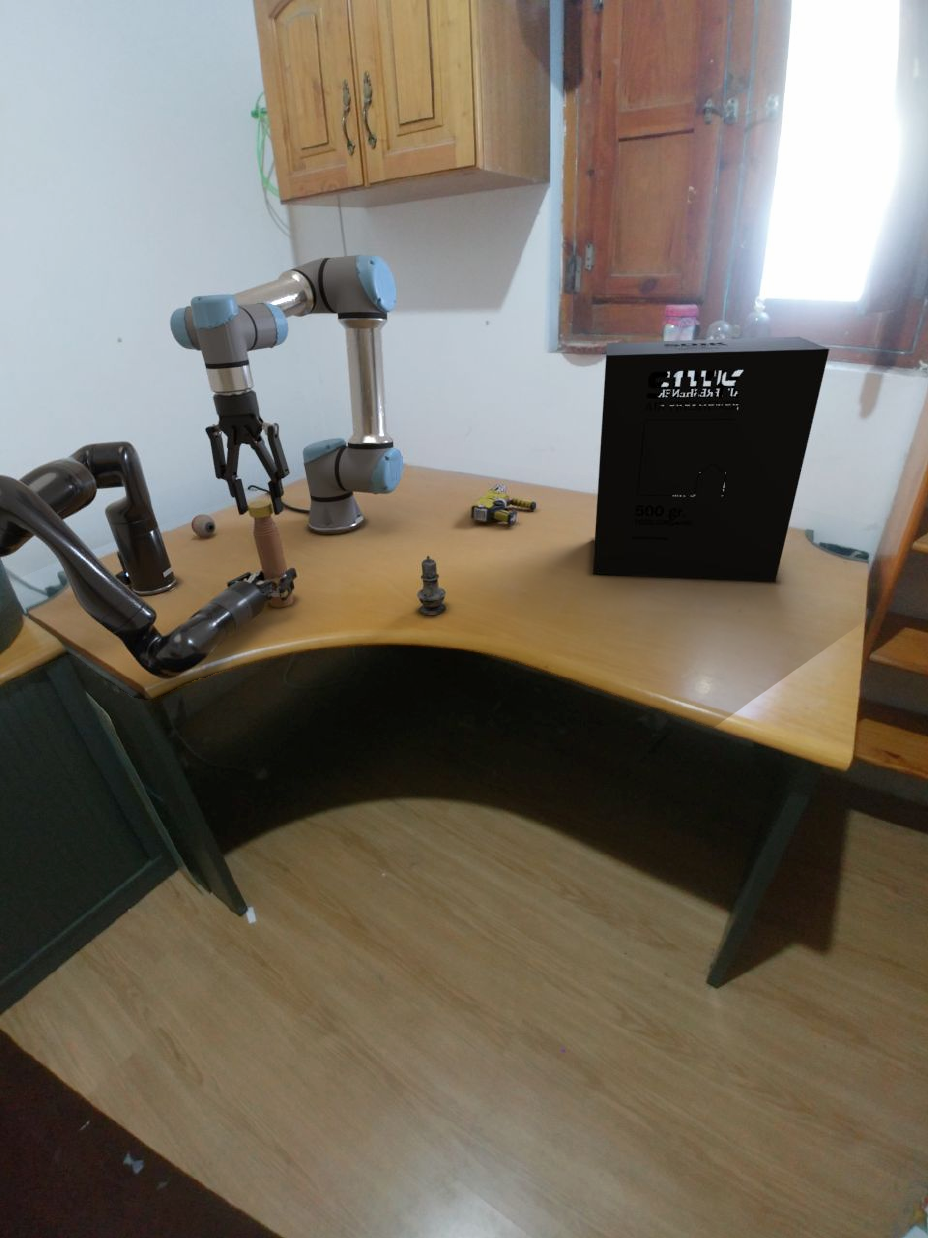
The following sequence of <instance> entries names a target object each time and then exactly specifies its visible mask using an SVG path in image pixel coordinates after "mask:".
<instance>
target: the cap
mask: <svg viewBox="0 0 928 1238" xmlns="http://www.w3.org/2000/svg"><path fill="white" fill-rule="evenodd" d="M247 505H248V514H249V517H250V518H253V519H254V518H262V517H267V516H269V515H271V516H272V515H273V514H274V510H273V505H272V500H271V501H270V500H267V499H262V500H256V501H252V502H249V504H247Z"/></svg>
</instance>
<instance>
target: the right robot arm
mask: <svg viewBox="0 0 928 1238" xmlns="http://www.w3.org/2000/svg"><path fill="white" fill-rule="evenodd" d="M395 282H396V281H395V279H394V275H393V272H392V270H391V269H390V267H389V265H388V264H387V262H386V261H385V260H384V259H383V258H382V257H380V256H379V255H376V254H355V255H354V254H353V255H343V256H335V257H334V256H333V257H322V258H317V259H314V260H312V261H309V262H306V263H303V264H301V265H298V266H296V267H292V269H288V270H285V271H283V272H282V273H281V274H279V276H278V278H277V279H274V280H273V281H269V282H266V283H263V284H259V285H257V286H254V287H250V288H248V289H245V290H242V291H239V292H235V293H233V294H231V293H226V294H224V293H223V294H221V293H220V294H209V295H208V294H207V295H197V296H195V295H194V296H193V297H192V298H191V300H190V305H186V306H185V307H178V308H176V309H175V310H174V311H173V312H172V314H171V316H170V321H169V327H170V331H171V333H172V336H173V338H174V340H175V341H176V343H177V344H178V345H179V346H180V347H182V348H184V349H186V350H195V351H198V352H201V355H202V359H203V362H204V366H205V371H206V376H207V380H208V384H209V388H210V391H211V392H212V393H215V394H213V396H212V400H213V404H214V408H215V412H216V415H217V416H218V422H217V424H216V423H215V424H214V423H213V424H211V425H209V426H207V427H205V429H204V430H205V433H206V435H207V437H208V440H209V443H210V449H211V456H212V462H213V469H214V474H215V478H216V479H217V480H224V481H225V482H226V483H227V487H228V490H229V494H230V496H231V498H234V500H235V504H236V507H237V512H238V515H239V516H244V515H245V514H246V513H247V512H249V510H248V505H249V504H248V501H247V497H246V492H245V488H244V485H243V481H242V478H239V475H238V469H239V458H240V449H241V445H242V444H243V445H246V446H247V445H249V447H250V448H251V449H252V450H253V451H254V453H255V454H256V456H257V458H258V460H259V461H260V463H261V465H262V467H263V469H264V470H265V472H266V474H267V475H268V477H269V479H270V480H269V481H268V482H267V486H268V489H267V488H262V487H260V486H258V485H255V484H251V485H249V486H248V487H247V490H250V489H251V488H254V489H257V490H258V491H260V492H261V491H262V492H264V493H267V494H269V495H270V500H271V503H272V506H273V511H274V512H273V514H274V516H279V515H280V514H281V513H282V512H284V510H285V509H284V508H286V509H288V510H290V511H291V510H292V511H295V512H300V513H308V521H307V524H308V528H309V529H308V530H310V531H311V532H312V533H314V534H317V535H323V536H324V535H325V536H327V535H329V536H331V535H339V534H340V535H341V534H345V533H350V532H353V531H355V530H357V529H359V528H361V527H362V526H363V525H364V523H365V519H364V514H363V512H362V510H361V508H360V505H359V504H358V501H357V500H356V498H355V495H354V493H363V494H365V493H366V494H372V495H388V494H391V493H392V492H394V491H395V490H396V489H397V487H398V486H399V484H400V482H401V479H402V476H403V472H404V457H403V455H402V452H401V451H400V449H398V448H396V447H394V446H395V445H394V439H393V437H392V436H390V435H389V433H388V428H387V425H388V424H387V407H386V389H385V371H384V369H385V367H384V350H383V349H384V348H383V334H382V333H383V332H382V331H383V328H384V326H386V324H387V323H388V313H390V312H392V311H393V310H394V308H395V307H396V303H397V302H396V301H397V287H396V283H395ZM312 314H313V315H315V314H318V315H319V314H332V315H333V314H335V315H337V321H338V323H339V324H340V325H341V326H342V327H343V328H344V331H345V344H346V345H345V347H346V358H347V371H348V386H349V399H350V412H351V426H352V434H351V436H349V438H348V439H347V441H346V439H345V438H342V437H335V438H328V439H323V440H320V441H316V442H313V443H309V444H308V445H306V446H305V447H304V448H303V450H302V457H303V459H302V460H303V467H304V472H305V477H306V481H307V486H308V492H309V498H310V507H309V509H302V508H297V507H293V506H291V505H288V504H286V503H285V502H283V501H282V497H283V496H284V494H285V491H284V490H285V489H284V485H283V481H282V480H283V479H285V478H286V477H287V476H289V475H290V474H291V473H290V472H291V471H290V468H289V466H288V461H287V459H286V455H285V452H284V449H283V445H282V441H281V439H280V425H279V423H277V422H273V423H270V422H264V419H263V418H262V417H261V415H260V414H261V413H260V405H259V401H258V396H257V392H256V391H255V390H253V388H254V387H255V383H254V378H253V374H252V369H251V364H250V359H249V354H248V352H251V351H256V350H257V351H259V350H263V349H273V348H274V347H276V346H280V345H282V344H283V343H285V341H286V340H287V338H288V335H289V323H288V320H287V319H288V318H290V317H292V316H294V317H297V318H301V317H305V316H307V315H312ZM263 431H264V435H265V436H266V437H267V442H268V446H269V449H270V452H271V453H270V452H269V450H268V448H267V445H266V444H265V440H264V438H263V436H262V432H263ZM223 434H224V436H226V437H227V439H226V448H227V451H226V452H227V453H225V448H224V446H225V445H224V441H223V436H222V435H223Z"/></svg>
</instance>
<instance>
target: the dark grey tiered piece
mask: <svg viewBox="0 0 928 1238" xmlns="http://www.w3.org/2000/svg"><path fill="white" fill-rule="evenodd" d="M437 570H438V569H437V562H436V560H434V559H432V558H431V557H430V555H427V556H426V559H424V560H423V561H422V562H421V572H422V573H421V576H420V579H421V580H422V588H421V589H419V590H418V592H417V594H416V597H417V598H418V600H419V602H420V604H421V606H420V607H419V612H420V613H421V614H423V615H427V616H436V615H440V614H442V613H443V612H445V611H446V605H445V604H444V603H443V602H444V600H445V596H446V595H447V591H446V590H445V589H444V588H442V587H439V578H440V575H439V573H438V571H437Z"/></svg>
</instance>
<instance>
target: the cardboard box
mask: <svg viewBox="0 0 928 1238" xmlns="http://www.w3.org/2000/svg"><path fill="white" fill-rule="evenodd" d="M605 351H606V352H605V367H604V369H605V370H604V383H603V384H604V385H603V399H602V400H603V401H602V415H601V431H600V433H601V434H600V448H599V465H598V481H597V497H596V511H595V512H596V514H595V529H594V531H595V532H594V547H593V548H594V550H593V566H592V575H608V576H628V577H629V576H631V577H654V578H655V577H656V578H675V579H676V578H677V579H678V578H679V579H701V580H702V579H703V580H724V581H725V580H726V581H747V582H770V583H776V582H777V577H778V573H779V568H780V565H781V560H782V556H783V552H784V547H785V543H786V538H787V534H788V531H789V530H788V529H789V525H790V521H791V518H792V517H791V516H792V514H793V513H792V512H793V508H794V504H795V500H796V496H797V491H798V488H799V482H800V477H801V474H802V470H803V465H804V460H805V456H806V453H807V448H808V444H809V440H810V435H811V431H812V427H813V422H814V418H815V414H816V409H817V405H818V400H819V397H820V391H821V387H822V383H823V380H824V379H823V378H824V375H825V370H826V366H827V363H828V362H827V361H828V358H829V353H830V348H828V347H826V346H824V345H820V344H819V343H815V342H813V341H811V340H808V339H805V338H803V337H800V336H780V337H778V336H775V337H749V338H748V337H747V338H745V337H744V338H721V339H720V338H717V339H716V338H715V339H689V340H688V339H687V340H684V339H683V340H657V341H655V340H654V341H628V342H627V341H626V342H624V341H623V342H607V343H606V349H605ZM720 371H721V372H720ZM737 371H742V372H740V374H739V375H734V374H735V373H736V372H737ZM678 372H682V376H681V377H680V382H679V385H677V386H676V382H677V377H676V374H677V373H678ZM689 372H694V373H693V382H695V385H691V384H692V376H689ZM702 372H705V375H704V376H702V374H703V373H702ZM719 375H720V379H719ZM724 375H725V377H724ZM723 378H724V382H734V383H733V385H725V384H723ZM705 382H710V385H704V384H705ZM664 383H665V384H666V383H667V386H663V385H664Z"/></svg>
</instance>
